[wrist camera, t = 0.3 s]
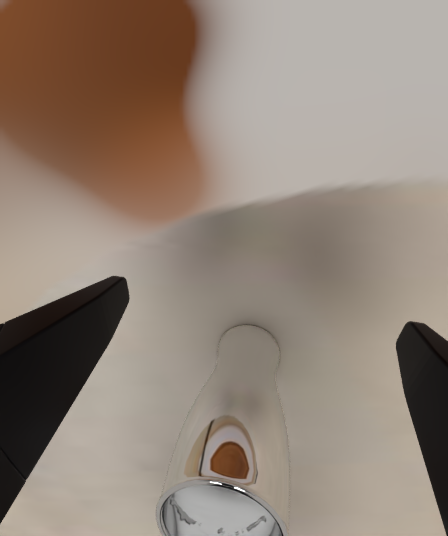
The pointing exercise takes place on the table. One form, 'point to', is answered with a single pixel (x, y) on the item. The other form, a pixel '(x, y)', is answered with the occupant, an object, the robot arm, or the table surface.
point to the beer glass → (232, 448)
